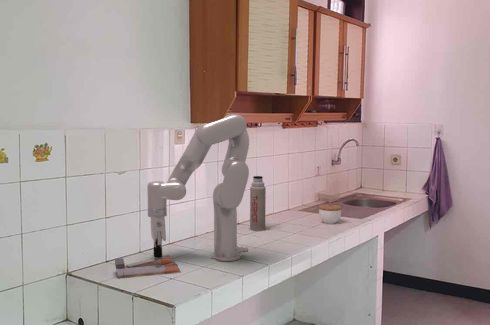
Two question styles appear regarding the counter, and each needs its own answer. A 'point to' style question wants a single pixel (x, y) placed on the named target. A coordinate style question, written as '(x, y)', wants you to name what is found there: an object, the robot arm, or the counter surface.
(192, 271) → the counter surface
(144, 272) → the tongs fixed
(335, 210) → the lidded bowl
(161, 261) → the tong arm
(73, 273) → the counter surface
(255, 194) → the thermos bottle
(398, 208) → the counter surface
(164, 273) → the walnut board
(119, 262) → the tab
